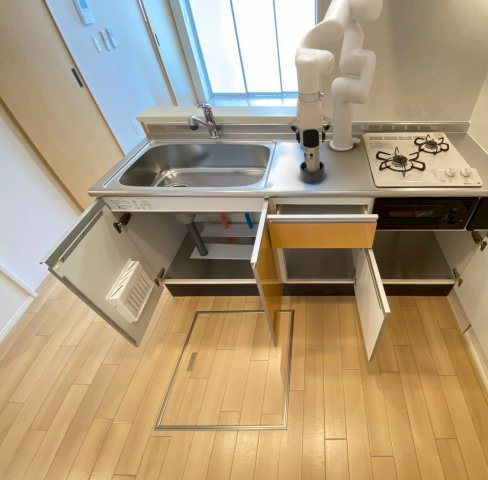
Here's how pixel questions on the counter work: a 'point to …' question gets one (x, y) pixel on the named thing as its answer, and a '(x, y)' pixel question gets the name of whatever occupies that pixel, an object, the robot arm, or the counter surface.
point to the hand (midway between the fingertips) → (311, 141)
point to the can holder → (312, 174)
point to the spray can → (311, 150)
